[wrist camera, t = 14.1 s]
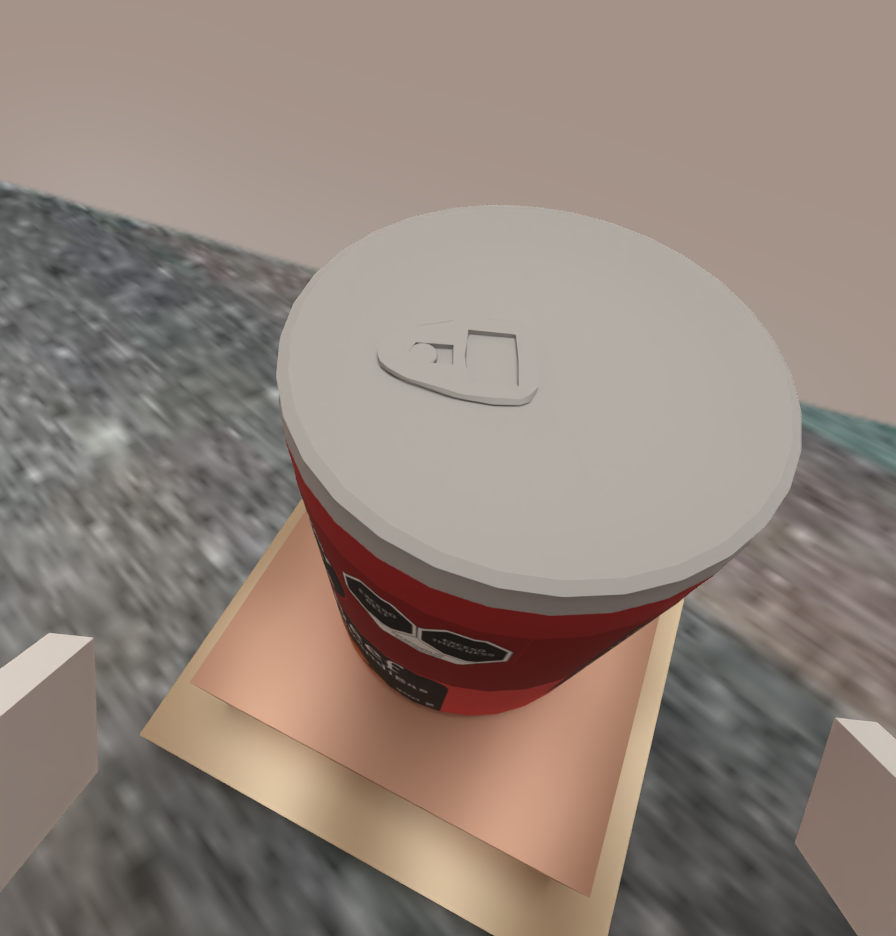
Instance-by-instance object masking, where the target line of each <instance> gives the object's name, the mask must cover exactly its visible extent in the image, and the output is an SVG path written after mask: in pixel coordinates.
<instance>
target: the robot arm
mask: <svg viewBox="0 0 896 936" xmlns="http://www.w3.org/2000/svg"><path fill="white" fill-rule="evenodd" d="M97 773H98V748H97V718H96V688H95V658H94V638H91V637H82V636H72V635H63V634H54V633H49V634H47V635H46V636H45V637H43V638H42V639H40V640H39V641H38V642H36V643H35V644H34V645H32V646H31V647H30V648H28V649H27V650H25V651H24V652H23V653H21V654H20V655H19V656H17V657H16V658H15V659H13V660H12V661H10V662H9V663H8V664H6V665H5V666H4V667H2V668H1V669H0V892H1V891H2V889H3V888H4V887H5V886H6V884H7V883H8V882H9V881H10V880H11V878H12V877H13V876H14V875H15V873H16V872H17V871H18V870H19V868H20V867H21V866H22V865H23V864H24V862H25V861H26V860H27V859H28V857H29V856H30V855H31V854H32V853H33V851H34V850H35V849H36V848H37V846H38V845H39V844H40V843H41V841H42V840H43V839H44V838H45V837H46V835H47V834H48V833H49V832H50V830H51V829H52V828H53V827H54V825H55V824H56V823H57V822H58V821H59V819H60V818H61V817H62V816H63V814H64V813H65V812H66V811H67V809H68V808H69V807H70V806H71V805H72V803H73V802H74V801H75V800H76V798H77V797H78V796H79V795H80V793H81V792H82V791H83V790H84V789H85V787H86V786H87V785H88V784H89V782H90V781H91V780H92V779H93V778H94V776H95V775H96V774H97ZM795 844H796V846H797V847H798V849H799V850H800V852H801V853H802V855H803V856H804V857H805V859H806V860H807V862H808V863H809V865H810V866H811V868H812V869H813V871H814V872H815V874H816V875H817V877H818V878H819V880H820V881H821V883H822V884H823V885H824V887H825V888H826V890H827V891H828V893H829V894H830V896H831V897H832V899H833V900H834V902H835V903H836V905H837V906H838V908H839V909H840V910H841V912H842V913H843V915H844V916H845V918H846V919H847V921H848V922H849V924H850V925H851V927H852V928H853V930H854V931H855V933H856V934H857V935H858V936H896V739H895V738H894V737H893V736H892V735H891V734H889V733H888V732H887V731H886V730H885V729H884V728H883V727H882V726H881V725H879V724H878V723H877V722H871V721H862V720H852V719H843V718H835V719H834V722H833V725H832V728H831V731H830V735H829V738H828V741H827V744H826V747H825V750H824V753H823V756H822V759H821V763H820V766H819V769H818V772H817V775H816V778H815V781H814V784H813V788H812V791H811V794H810V797H809V800H808V803H807V806H806V809H805V812H804V816H803V819H802V822H801V825H800V828H799V831H798V834H797V837H796V840H795Z"/></svg>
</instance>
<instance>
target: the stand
mask: <svg viewBox="0 0 896 936" xmlns="http://www.w3.org/2000/svg"><path fill="white" fill-rule="evenodd" d="M683 602H684V598H683V599H682V600H681V601H680V602H679V603H677V604H676V605H674V606H673V607H671V608H670V609H669V610H667V611H666V612H664V613H663V614H661V615H660V616H659V617H657V618H656V619H654V620H653V621H651V622H650V623H648V624H647V625H646V626H644V627H643V628H641V629H640V630H638V631H637V632H636V633H634V634H633V635H631V636H630V637H628V638H627V639H626V640H624V641H623V642H621V643H620V644H618V645H617V646H616V647H614V648H613V649H611V650H610V651H608V652H607V653H605V654H604V655H603V656H601V657H600V658H598V659H597V660H595V661H594V662H593V663H591V664H590V665H588V666H587V667H585V668H584V669H583V670H581V671H580V672H578V673H577V674H575V675H574V676H573V677H571V678H570V679H568V680H567V681H565V682H564V683H563V684H561V685H560V686H558V687H557V688H555V689H554V690H552V691H551V692H550V693H548V694H546V695H544V696H543V697H541V698H539V699H537V700H535V701H533V702H531V703H529V704H527V705H526V706H523V707H520V708H516V709H512V710H509V711H505V712H502V713H498V714H485V715H462V714H455V713H448V712H441V711H438V710H435V709H432V708H429V707H427V706H424V705H421V704H418V703H415V702H413V701H411V700H410V699H408V698H406V697H405V696H403V695H401V694H400V693H398V692H396V691H395V690H393V689H391V688H390V687H389V686H387V685H386V684H385V683H384V682H383V681H382V680H381V679H380V678H379V677H378V676H377V675H376V674H374V673H373V672H372V671H371V670H370V669H369V668H368V666H367V665H366V664H365V662H364V661H363V659H362V658H361V656H360V655H359V654H358V652H357V651H356V649H355V648H354V647H353V644H352V642H351V640H350V637H349V635H348V633H347V630H346V628H345V626H344V623H343V621H342V618H341V614H340V611H339V608H338V605H337V602H336V599H335V596H334V593H333V590H332V587H331V584H330V581H329V578H328V575H327V572H326V569H325V566H324V563H323V560H322V557H321V554H320V551H319V547H318V544H317V541H316V538H315V535H314V532H313V529H312V526H311V523H310V520H309V517H308V514H307V511H306V508H305V505H304V502H303V499H302V500H301V501H300V502H299V504H298V505H297V507H296V508H295V510H294V511H293V513H292V514H291V516H290V517H289V518H288V520H287V521H286V523H285V524H284V526H283V527H282V529H281V530H280V531H279V533H278V534H277V536H276V537H275V539H274V540H273V542H272V543H271V545H270V546H269V547H268V549H267V550H266V552H265V553H264V555H263V556H262V558H261V559H260V561H259V562H258V563H257V565H256V566H255V568H254V569H253V571H252V572H251V574H250V575H249V576H248V578H247V579H246V581H245V582H244V584H243V585H242V587H241V588H240V590H239V591H238V592H237V594H236V595H235V597H234V598H233V600H232V601H231V603H230V604H229V605H228V607H227V608H226V610H225V611H224V613H223V614H222V616H221V617H220V619H219V620H218V621H217V623H216V624H215V626H214V627H213V629H212V630H211V632H210V633H209V635H208V636H207V637H206V639H205V640H204V642H203V643H202V645H201V646H200V648H199V649H198V650H197V652H196V653H195V655H194V656H193V658H192V659H191V661H190V662H189V664H188V665H187V666H186V668H185V669H184V671H183V672H182V674H181V675H180V677H179V678H178V680H177V681H176V682H175V684H174V685H173V687H172V688H171V690H170V691H169V693H168V694H167V695H166V697H165V698H164V700H163V701H162V703H161V704H160V706H159V707H158V709H157V710H156V711H155V713H154V714H153V716H152V717H151V719H150V720H149V722H148V723H147V725H146V726H145V727H144V729H143V730H142V732H141V733H140V735H141V736H143V737H144V738H146V739H148V740H150V741H151V742H153V743H155V744H157V745H158V746H160V747H162V748H164V749H165V750H167V751H169V752H171V753H173V754H174V755H176V756H178V757H180V758H181V759H183V760H185V761H187V762H188V763H190V764H192V765H194V766H195V767H197V768H199V769H201V770H203V771H204V772H206V773H208V774H210V775H211V776H213V777H215V778H217V779H218V780H220V781H222V782H224V783H226V784H227V785H229V786H231V787H233V788H234V789H236V790H238V791H240V792H241V793H243V794H245V795H247V796H248V797H250V798H252V799H254V800H256V801H257V802H259V803H261V804H263V805H264V806H266V807H268V808H270V809H271V810H273V811H275V812H277V813H278V814H280V815H282V816H284V817H286V818H287V819H289V820H291V821H293V822H294V823H296V824H298V825H300V826H301V827H303V828H305V829H307V830H309V831H310V832H312V833H314V834H316V835H317V836H319V837H321V838H323V839H324V840H326V841H328V842H330V843H331V844H333V845H335V846H337V847H339V848H340V849H342V850H344V851H346V852H347V853H349V854H351V855H353V856H354V857H356V858H358V859H360V860H361V861H363V862H365V863H367V864H369V865H370V866H372V867H374V868H376V869H377V870H379V871H381V872H383V873H384V874H386V875H388V876H390V877H391V878H393V879H395V880H397V881H399V882H400V883H402V884H404V885H406V886H407V887H409V888H411V889H413V890H414V891H416V892H418V893H420V894H422V895H423V896H425V897H427V898H429V899H430V900H432V901H434V902H436V903H437V904H439V905H441V906H443V907H444V908H446V909H448V910H450V911H452V912H453V913H455V914H457V915H459V916H460V917H462V918H464V919H466V920H467V921H469V922H471V923H473V924H474V925H476V926H478V927H480V928H482V929H483V930H485V931H487V932H489V933H490V934H492V935H494V936H608V932H609V927H610V923H611V919H612V914H613V910H614V905H615V901H616V897H617V892H618V888H619V883H620V879H621V875H622V870H623V866H624V861H625V857H626V853H627V848H628V844H629V839H630V835H631V830H632V826H633V822H634V817H635V813H636V808H637V804H638V800H639V795H640V791H641V786H642V782H643V778H644V773H645V769H646V764H647V760H648V756H649V751H650V747H651V742H652V738H653V734H654V729H655V725H656V720H657V716H658V712H659V707H660V703H661V698H662V694H663V690H664V685H665V681H666V676H667V672H668V668H669V663H670V659H671V654H672V650H673V646H674V641H675V637H676V632H677V628H678V624H679V619H680V615H681V610H682V606H683Z"/></svg>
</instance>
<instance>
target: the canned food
mask: <svg viewBox="0 0 896 936" xmlns="http://www.w3.org/2000/svg"><path fill="white" fill-rule="evenodd" d="M276 378H277V383H278V389H279V405H280V411H281V417H282V423H283V428H284V434H285V440H286V444H287V447H288V450H289V453H290V456H291V460H292V463H293V466H294V470H295V476H296V480H297V484H298V487H299V490H300V493H301V496H302V499H303V502H304V505H305V508H306V511H307V514H308V517H309V520H310V523H311V526H312V529H313V532H314V535H315V538H316V541H317V544H318V547H319V551H320V554H321V557H322V560H323V563H324V566H325V569H326V572H327V575H328V578H329V581H330V584H331V587H332V590H333V593H334V596H335V599H336V602H337V605H338V608H339V611H340V614H341V618H342V621H343V623H344V626H345V628H346V630H347V633H348V635H349V637H350V640H351V642H352V644H353V647H354V648H355V649H356V651H357V652H358V654H359V655H360V656H361V658H362V659H363V661H364V662H365V664H366V665H367V666H368V668H369V669H370V670H371V671H372V672H373V673H374V674H376V675H377V676H378V677H379V678H380V679H381V680H382V681H383V682H384V683H385V684H386V685H387V686H389V687H390V688H391V689H393V690H395V691H396V692H398V693H400V694H401V695H403V696H405V697H406V698H408V699H410V700H411V701H413V702H415V703H418V704H421V705H424V706H427V707H429V708H432V709H435V710H438V711H441V712H448V713H455V714H462V715H485V714H498V713H502V712H505V711H509V710H512V709H516V708H520V707H523V706H526V705H527V704H529V703H531V702H533V701H535V700H537V699H539V698H541V697H543V696H544V695H546V694H548V693H550V692H551V691H552V690H554V689H555V688H557V687H558V686H560V685H561V684H563V683H564V682H565V681H567V680H568V679H570V678H571V677H573V676H574V675H575V674H577V673H578V672H580V671H581V670H583V669H584V668H585V667H587V666H588V665H590V664H591V663H593V662H594V661H595V660H597V659H598V658H600V657H601V656H603V655H604V654H605V653H607V652H608V651H610V650H611V649H613V648H614V647H616V646H617V645H618V644H620V643H621V642H623V641H624V640H626V639H627V638H628V637H630V636H631V635H633V634H634V633H636V632H637V631H638V630H640V629H641V628H643V627H644V626H646V625H647V624H648V623H650V622H651V621H653V620H654V619H656V618H657V617H659V616H660V615H661V614H663V613H664V612H666V611H667V610H669V609H670V608H671V607H673V606H674V605H676V604H677V603H679V602H680V601H681V600H682V599H683V598H684V597H686V596H687V595H688V594H689V593H690V592H691V591H693V590H694V589H695V588H697V587H698V586H699V585H701V584H702V583H704V582H705V581H706V580H708V579H709V578H711V577H712V576H713V575H714V574H716V573H717V572H718V571H719V570H720V569H721V568H722V567H724V566H725V565H726V564H727V563H728V562H729V561H730V560H732V559H733V558H734V557H735V556H736V555H737V554H738V553H740V552H741V551H742V550H743V549H744V548H745V547H746V546H748V544H749V543H750V541H751V540H752V538H753V537H754V536H755V535H756V534H757V533H758V532H759V531H760V530H761V529H763V528H764V527H765V526H766V525H767V524H768V522H769V521H770V519H771V518H772V516H773V514H774V513H775V511H776V510H777V508H778V507H779V505H780V504H781V502H782V501H783V499H784V497H785V496H786V494H787V493H788V491H789V490H790V487H791V484H792V481H793V477H794V474H795V470H796V467H797V463H798V460H799V456H800V453H801V409H800V405H799V401H798V397H797V393H796V390H795V386H794V382H793V378H792V375H791V372H790V370H789V368H788V366H787V365H786V363H785V361H784V359H783V357H782V355H781V353H780V351H779V349H778V347H777V345H776V343H775V341H774V339H773V338H772V337H771V335H770V334H769V333H768V332H767V331H766V329H765V328H764V326H763V325H762V324H761V323H760V321H759V320H758V319H757V317H756V316H755V315H754V314H753V312H752V311H751V310H750V308H749V307H748V306H747V305H745V304H744V303H743V302H742V301H741V300H740V299H739V298H738V297H737V296H736V295H735V294H734V293H733V292H732V291H731V290H729V289H728V288H727V287H726V286H725V285H724V284H723V283H722V282H721V281H720V280H719V279H717V278H716V277H714V276H713V275H711V274H710V273H708V272H707V271H706V270H704V269H703V268H701V267H700V266H699V265H697V264H696V263H694V262H693V261H691V260H690V259H689V258H687V257H686V256H684V255H682V254H680V253H678V252H676V251H674V250H672V249H670V248H669V247H667V246H665V245H663V244H661V243H659V242H657V241H655V240H653V239H651V238H649V237H647V236H645V235H642V234H639V233H637V232H634V231H632V230H629V229H626V228H624V227H621V226H618V225H616V224H613V223H611V222H607V221H603V220H600V219H596V218H592V217H588V216H584V215H580V214H576V213H572V212H568V211H561V210H554V209H546V208H539V207H533V206H511V205H482V206H471V207H460V208H449V209H445V210H440V211H435V212H431V213H427V214H422V215H418V216H413V217H410V218H407V219H404V220H402V221H399V222H397V223H394V224H391V225H389V226H386V227H384V228H381V229H378V230H376V231H374V232H372V233H370V234H369V235H367V236H365V237H363V238H362V239H360V240H358V241H357V242H355V243H353V244H352V245H350V246H348V247H346V248H345V249H343V250H342V251H340V253H338V254H337V255H336V256H335V257H334V258H333V259H331V260H330V261H329V262H328V263H327V264H326V265H325V266H323V267H322V268H321V269H320V270H319V271H318V272H317V273H315V275H314V276H313V277H312V279H311V280H310V281H309V283H308V284H307V286H306V287H305V288H304V290H303V291H302V293H301V294H300V295H299V297H298V298H297V299H296V301H295V302H294V304H293V306H292V309H291V311H290V314H289V316H288V319H287V321H286V324H285V326H284V329H283V332H282V334H281V337H280V344H279V353H278V363H277V372H276Z"/></svg>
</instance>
